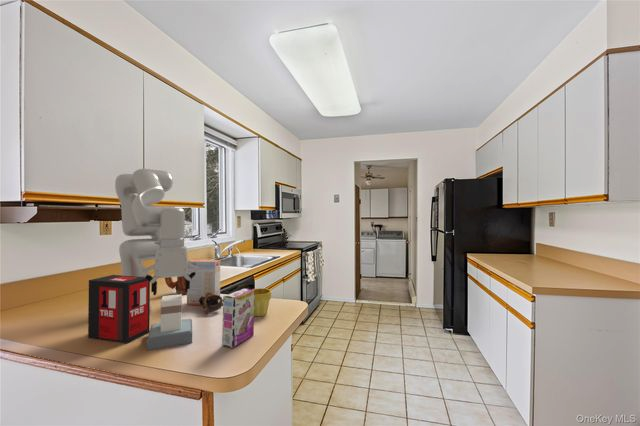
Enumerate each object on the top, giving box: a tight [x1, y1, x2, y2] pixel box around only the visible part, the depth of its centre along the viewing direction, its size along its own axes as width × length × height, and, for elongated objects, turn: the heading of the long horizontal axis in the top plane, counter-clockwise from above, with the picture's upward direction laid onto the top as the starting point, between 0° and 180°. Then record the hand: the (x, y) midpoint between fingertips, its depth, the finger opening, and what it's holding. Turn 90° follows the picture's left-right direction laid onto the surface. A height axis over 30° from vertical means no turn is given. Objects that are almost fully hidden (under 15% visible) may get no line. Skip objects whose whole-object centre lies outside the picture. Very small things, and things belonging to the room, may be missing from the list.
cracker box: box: [186, 259, 221, 307], centre depth 135 cm, size 14×6×21 cm, turn 84°
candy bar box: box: [221, 288, 255, 349], centre depth 97 cm, size 11×5×16 cm, turn 157°
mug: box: [164, 276, 187, 295], centre depth 151 cm, size 15×8×15 cm, turn 144°
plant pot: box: [251, 287, 272, 317], centre depth 123 cm, size 10×10×10 cm
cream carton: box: [160, 294, 183, 332], centre depth 98 cm, size 6×7×10 cm
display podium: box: [146, 318, 193, 351], centre depth 98 cm, size 13×13×4 cm
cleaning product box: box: [87, 274, 151, 344], centre depth 100 cm, size 16×9×20 cm, turn 77°
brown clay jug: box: [199, 294, 223, 315], centre depth 125 cm, size 12×10×8 cm
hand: (171, 292), depth 98 cm, fingers open, 9 cm apart
